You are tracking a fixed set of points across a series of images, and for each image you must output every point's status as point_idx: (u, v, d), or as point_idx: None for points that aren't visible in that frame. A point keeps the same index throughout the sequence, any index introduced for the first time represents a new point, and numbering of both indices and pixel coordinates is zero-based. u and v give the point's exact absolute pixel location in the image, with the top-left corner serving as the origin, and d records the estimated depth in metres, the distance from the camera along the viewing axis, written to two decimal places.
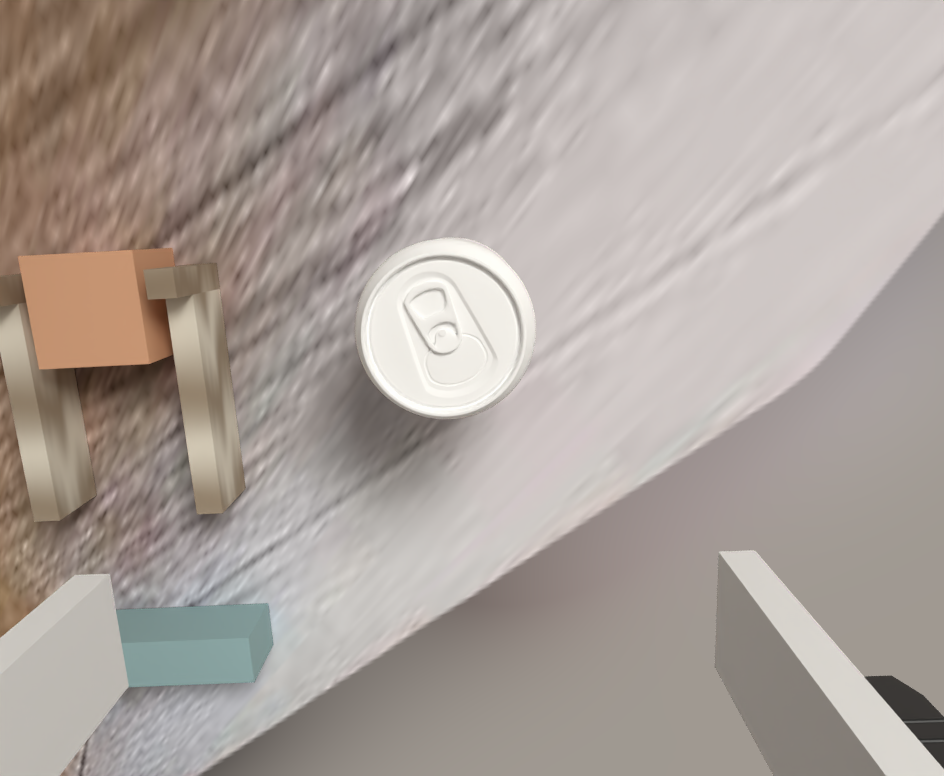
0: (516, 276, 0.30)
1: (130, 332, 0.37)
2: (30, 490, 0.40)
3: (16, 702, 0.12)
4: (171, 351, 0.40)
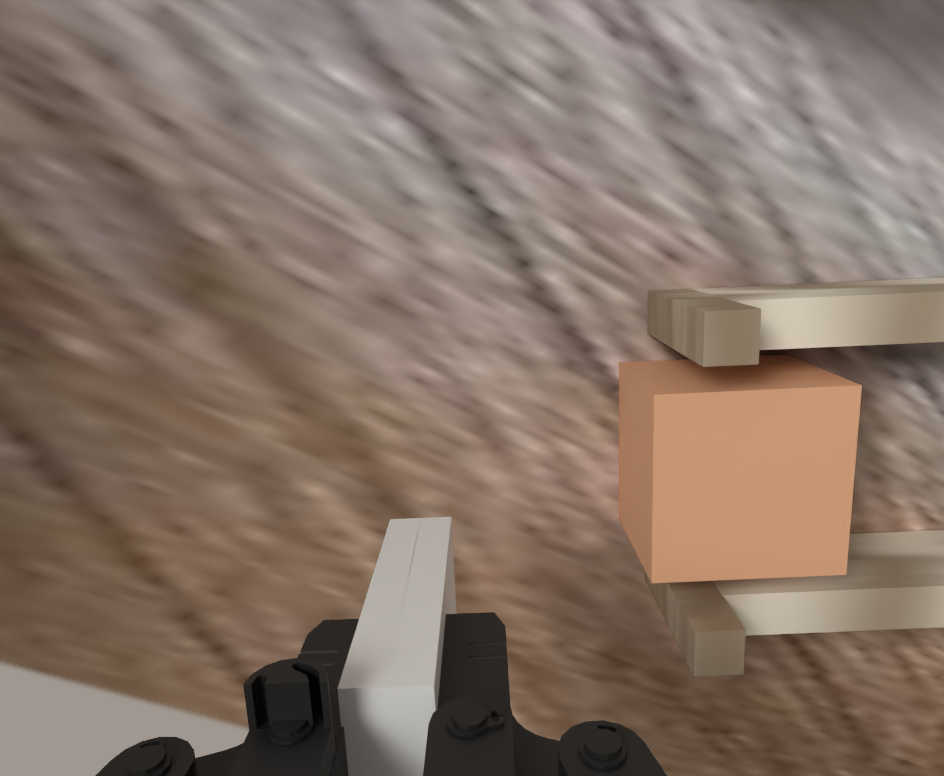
0: None
1: (800, 412, 0.20)
2: None
3: None
4: (808, 366, 0.23)
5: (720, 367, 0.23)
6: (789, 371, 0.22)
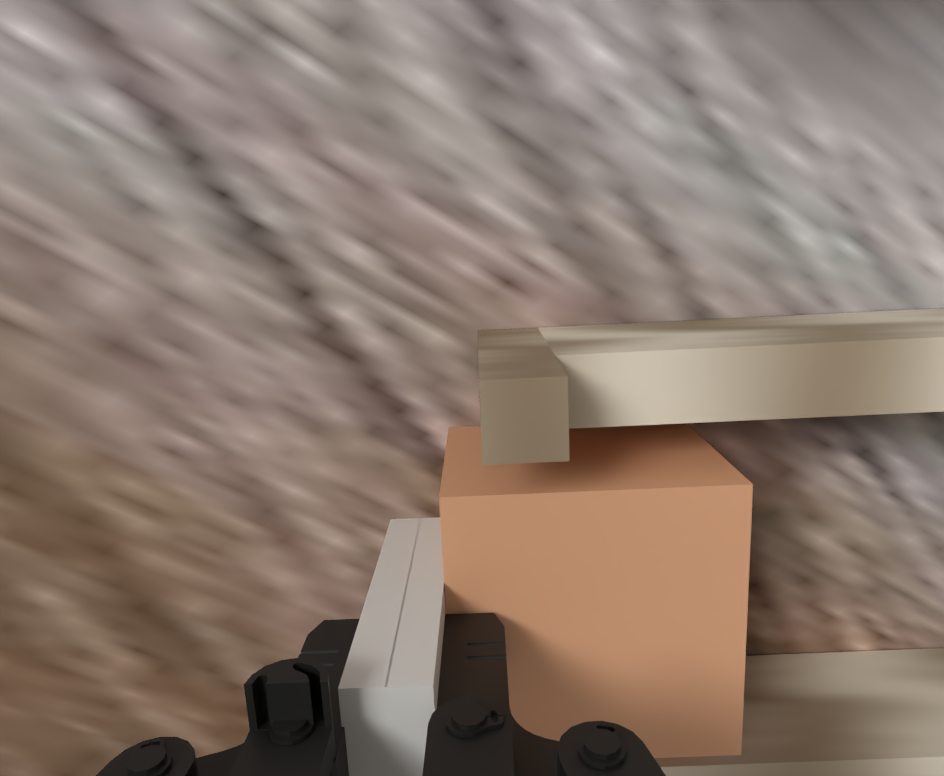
0: None
1: (662, 524, 0.14)
2: None
3: None
4: (697, 441, 0.16)
5: (574, 440, 0.17)
6: (664, 451, 0.16)
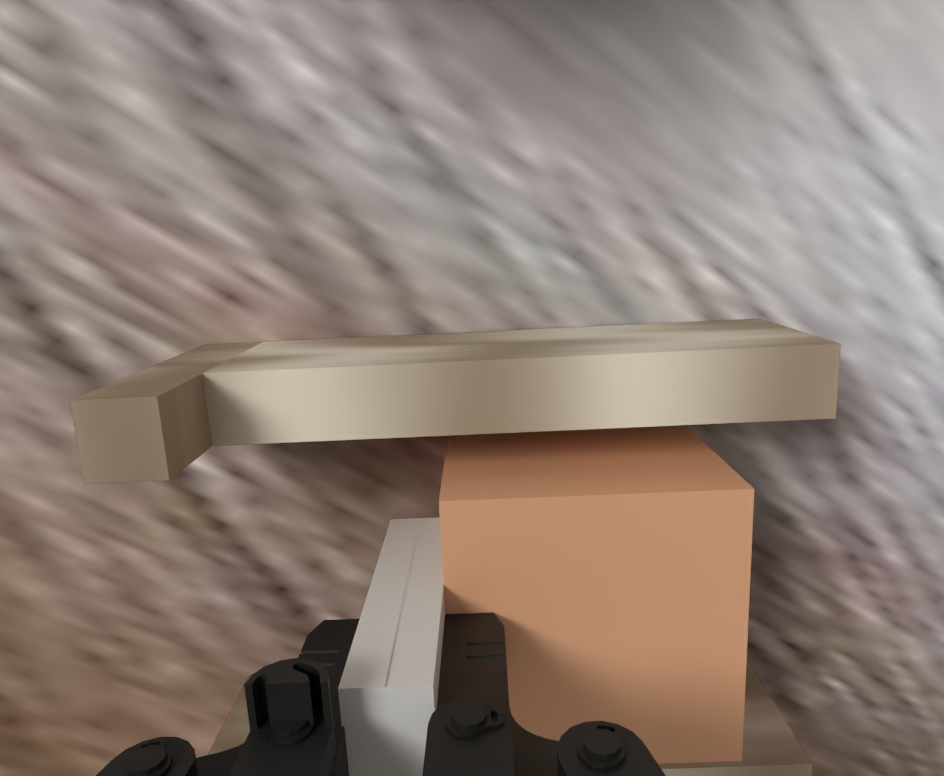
0: None
1: (663, 528, 0.13)
2: None
3: None
4: (698, 445, 0.16)
5: (575, 444, 0.16)
6: (665, 455, 0.15)
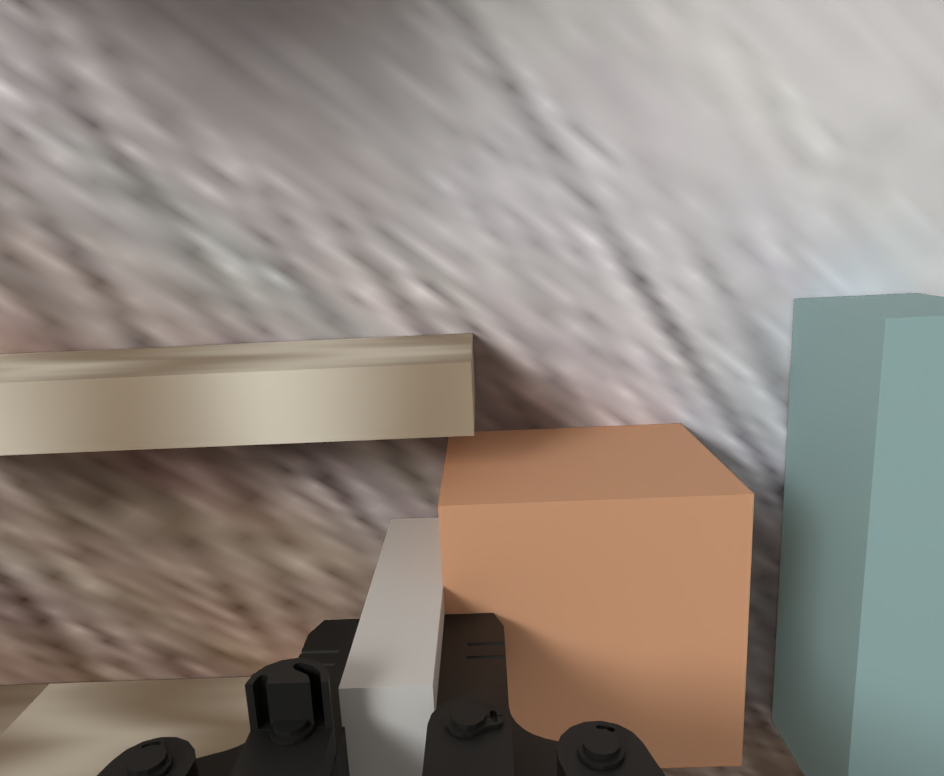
0: None
1: (663, 533, 0.13)
2: None
3: None
4: (698, 449, 0.16)
5: (575, 448, 0.16)
6: (665, 459, 0.15)
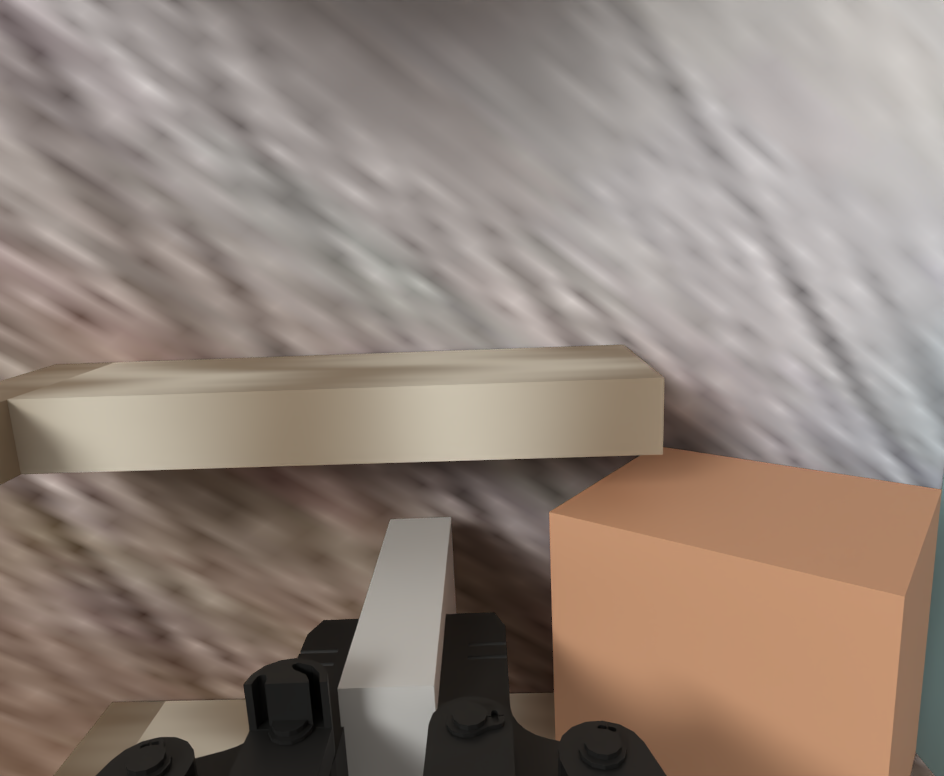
0: None
1: (777, 609, 0.11)
2: None
3: None
4: (914, 525, 0.12)
5: (760, 489, 0.14)
6: (850, 526, 0.12)
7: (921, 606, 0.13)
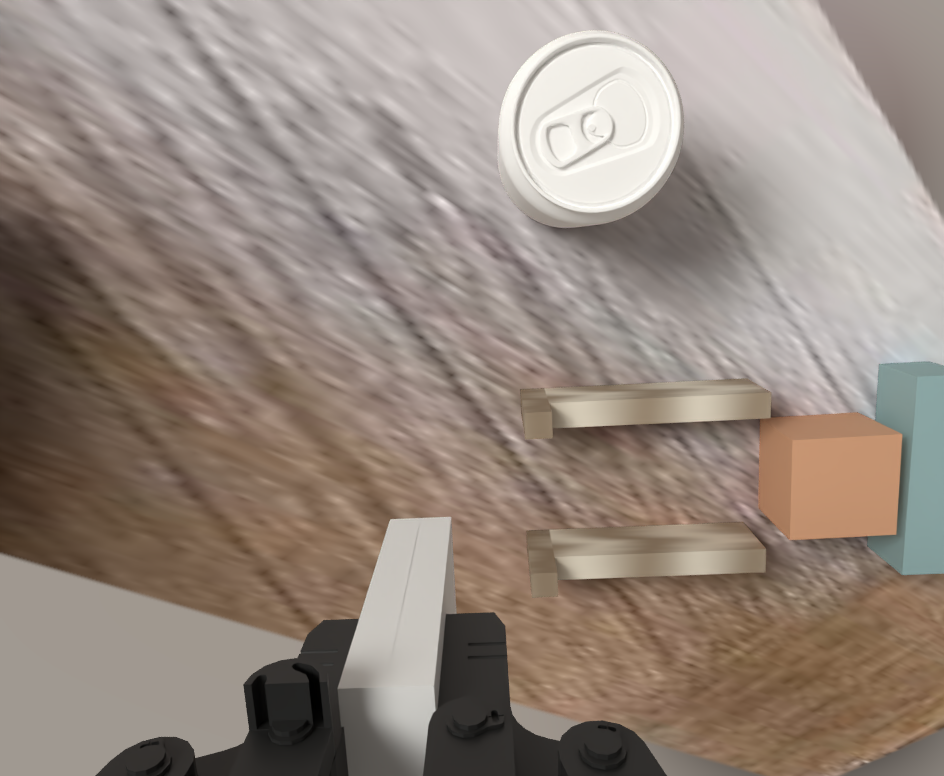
0: (536, 52, 0.30)
1: (870, 448, 0.39)
2: (733, 571, 0.42)
3: None
4: (871, 421, 0.42)
5: (821, 421, 0.42)
6: (861, 424, 0.41)
7: None
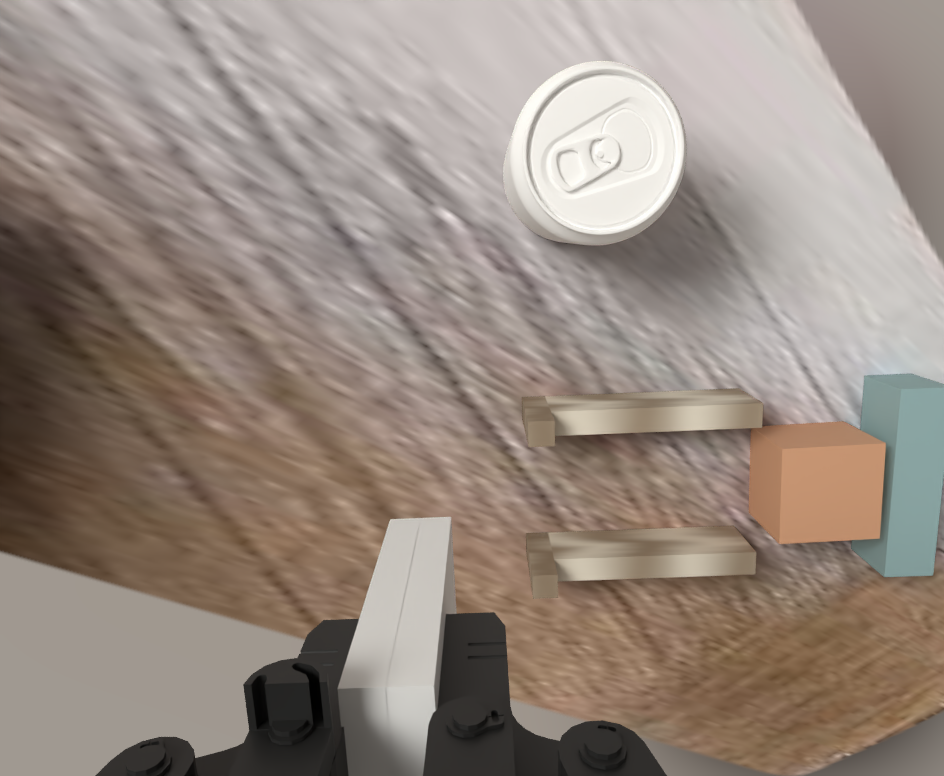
0: (547, 81, 0.31)
1: (855, 457, 0.41)
2: (724, 573, 0.44)
3: None
4: (857, 430, 0.44)
5: (809, 430, 0.44)
6: (847, 433, 0.43)
7: None
